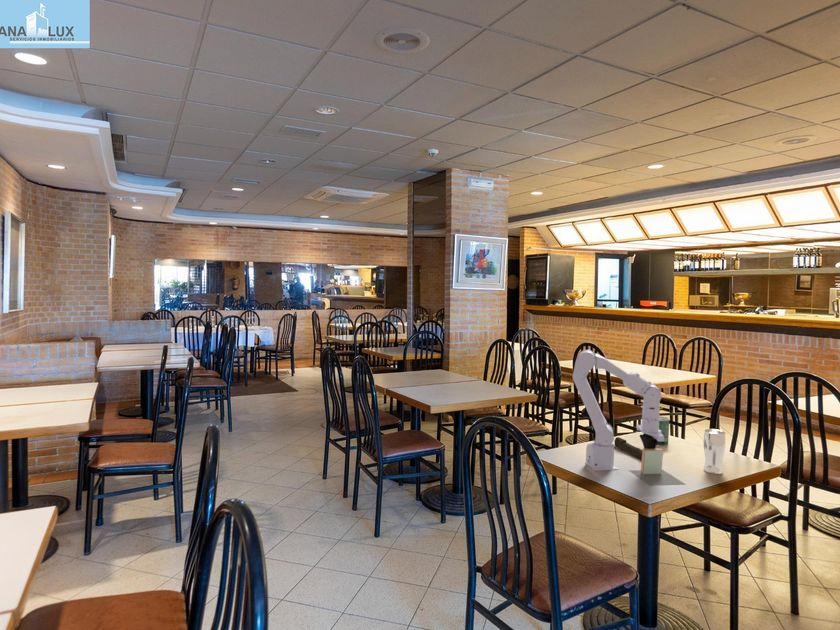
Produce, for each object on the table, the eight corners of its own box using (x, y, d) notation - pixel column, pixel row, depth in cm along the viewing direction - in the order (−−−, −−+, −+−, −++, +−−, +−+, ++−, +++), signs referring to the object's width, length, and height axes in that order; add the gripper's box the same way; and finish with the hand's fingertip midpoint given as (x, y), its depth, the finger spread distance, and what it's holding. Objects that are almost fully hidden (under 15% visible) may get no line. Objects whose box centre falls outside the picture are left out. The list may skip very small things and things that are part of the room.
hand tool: (649, 461, 201) (650, 449, 201) (640, 461, 200) (641, 449, 200) (620, 446, 219) (621, 435, 219) (612, 446, 219) (612, 436, 218)
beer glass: (711, 467, 194) (713, 428, 194) (728, 473, 188) (730, 433, 187) (697, 469, 192) (699, 429, 191) (714, 475, 185) (716, 434, 185)
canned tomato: (645, 442, 224) (646, 418, 223) (652, 439, 229) (653, 415, 228) (664, 447, 218) (665, 421, 217) (671, 443, 223) (672, 418, 223)
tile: (643, 474, 185) (645, 450, 184) (640, 472, 186) (642, 448, 185) (661, 474, 185) (663, 450, 184) (658, 472, 187) (660, 448, 186)
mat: (650, 486, 175) (650, 485, 175) (629, 471, 189) (629, 470, 189) (686, 485, 176) (686, 484, 176) (662, 470, 190) (662, 469, 190)
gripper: (672, 423, 180) (671, 461, 181) (649, 413, 194) (648, 448, 195) (653, 423, 179) (652, 462, 180) (632, 413, 193) (630, 449, 194)
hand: (649, 455), depth 187 cm, fingers closed
